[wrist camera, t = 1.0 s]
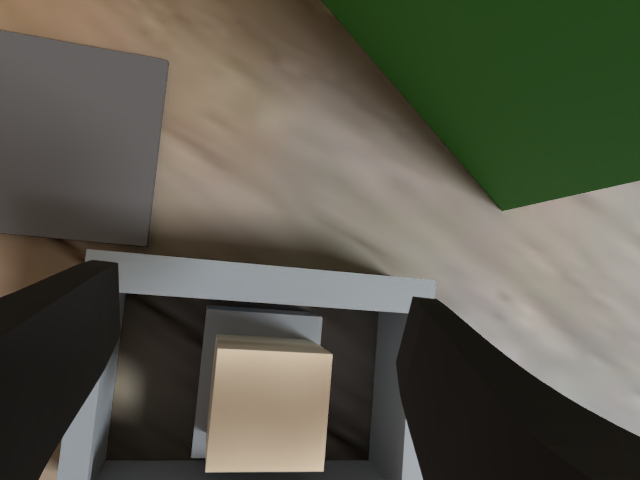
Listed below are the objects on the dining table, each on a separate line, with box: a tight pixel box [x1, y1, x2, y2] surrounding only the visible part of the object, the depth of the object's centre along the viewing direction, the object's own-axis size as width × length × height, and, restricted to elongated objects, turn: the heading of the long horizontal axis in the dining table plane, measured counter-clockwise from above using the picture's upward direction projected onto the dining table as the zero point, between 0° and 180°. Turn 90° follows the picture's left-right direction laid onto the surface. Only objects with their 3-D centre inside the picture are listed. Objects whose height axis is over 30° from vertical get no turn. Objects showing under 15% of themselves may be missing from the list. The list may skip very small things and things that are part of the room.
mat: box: [0, 30, 169, 247], centre depth 21 cm, size 9×9×1 cm
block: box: [205, 334, 333, 472], centre depth 18 cm, size 4×4×4 cm
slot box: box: [57, 249, 436, 480], centre depth 21 cm, size 10×14×5 cm
